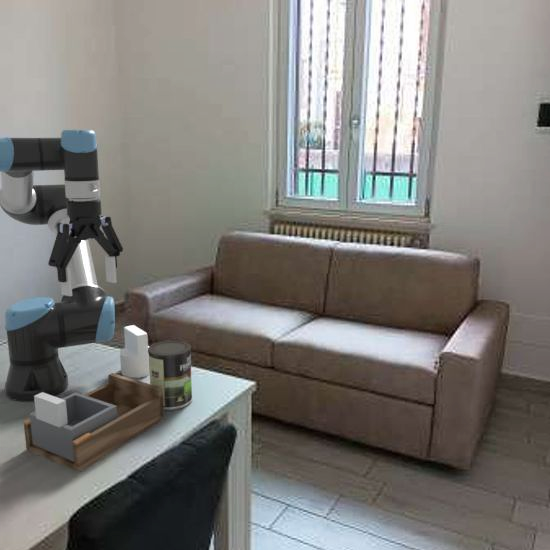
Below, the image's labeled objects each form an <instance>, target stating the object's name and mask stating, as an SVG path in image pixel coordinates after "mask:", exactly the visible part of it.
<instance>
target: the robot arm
mask: <svg viewBox="0 0 550 550" xmlns="http://www.w3.org/2000/svg"><path fill="white" fill-rule="evenodd" d="M60 135H61V137H8V136H6V137H0V179H1V188H0V207H1V210H2V211H3V212H4V213H5V214H6V215H7V216H8V217H10V218H12V219H14V220H15V221H17V222H19V223H22V224H26V225H30V226H31V225H32V226H40V225H41V226H42V225H47V226H48V228H49V230H50V231H51V232H52V233H54V235H55V239H54V243H53V247H52V250H51V252H50V256H49V260H48V266H49V267H54V268H56V270H57V281H58V282H59V283H60V290H61V295H62V296H61V298H60V301H59V302H55V300H54V299H53V298H52V297H50V296H49V297H48V296H44V297H43V296H38V297H32V298H27V299H24V300H20V301H17V302H16V303H14V304H13V305H10V306H9V307H8V308H7V310H6V311H5V315H4V318H5V319H4V320H5V325H4V328H5V329H4V330H6V338H7V349H8V356H9V367H8V371H7V376H6V381H5V384H4V390H5V395H6V396H7V398H8V399H11V400H13V401H20V402H32V401H33V402H35V401H34V396H35V395H37V394H39V393H42V392H43V393H46V394H49V395H52V396H55V397H56V396H57V395H59V394H62V393H63V392H64V391H66V389H67V388H68V387H69V377H68V374H67V372H66V370H65V368H64V365H63V363H62V361H61V359H60V356H59V349H61V348H69V347H75V346H83V345H90V344H91V345H92V344H98V343H102V342H107V341H110V340H112V338H113V337H114V334H115V323H116V320H115V317H116V316H115V315H116V314H115V311H116V310H115V299H114V297H113V296H107V293H106V291H105V290H104V288H102V287H100V286H99V285H98V280H97V274H96V270H95V265H94V261H93V257H92V252H91V251H92V250H91V247H90V241H89V239H91V240H92V239H94V240H95V241H96V243H97V244H98V245H99V246H100V248H102V250H103V251H104V252H105V253H106V254H107V255H104V261H105V262H104V264H105V276H106V277H105V278H106V279H105V281H106V282H107V283H112V284H116V283H118V281H117V268H118V259H117V257H120V256H121V253H122V252H123V251H124V247H123V245H122V244H121V242H120V239H119V237H118V236H117V233H116V231H115V229H114V227H113V222H112V218H111V216H107V215H102V201H101V200H100V199H99V198H100V197H101V189H100V186H101V185H100V176H99V174H100V173H99V159H98V156H99V155H98V147H99V146H98V142H97V135H96V132H95V131H94V130H92V129H63V130H62V131H61V133H60ZM37 171H63V172H64V173H63V174H64V184H62V183H61V184H39V185H38V184H34V176H35V172H37ZM100 228H101V229H100Z"/></svg>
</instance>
